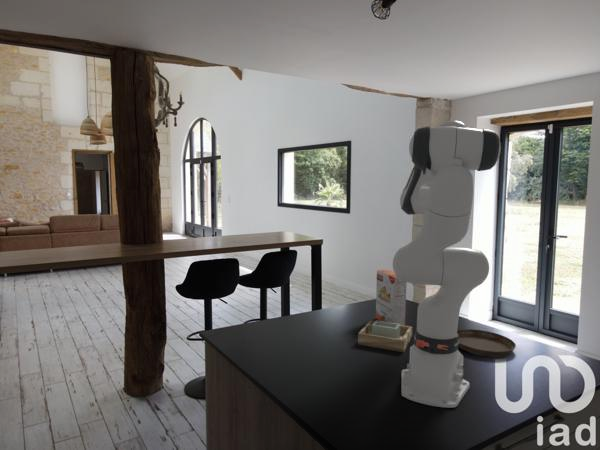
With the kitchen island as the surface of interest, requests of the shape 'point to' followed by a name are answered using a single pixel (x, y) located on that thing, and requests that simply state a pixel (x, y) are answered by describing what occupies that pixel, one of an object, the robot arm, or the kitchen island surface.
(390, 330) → the box
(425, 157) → the robot arm
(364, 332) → the big crate
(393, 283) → the cracker box
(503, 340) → the plant saucer
